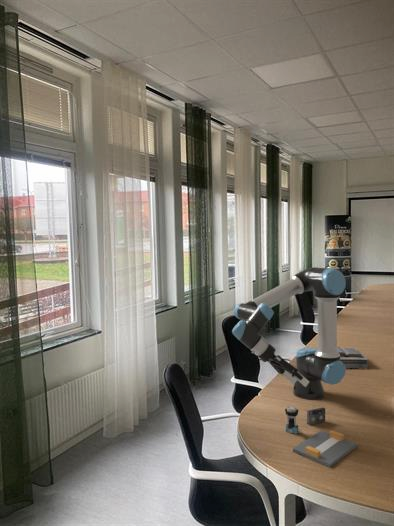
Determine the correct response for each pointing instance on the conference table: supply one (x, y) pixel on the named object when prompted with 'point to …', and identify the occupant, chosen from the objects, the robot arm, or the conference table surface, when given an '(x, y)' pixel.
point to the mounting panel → (325, 447)
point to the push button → (292, 420)
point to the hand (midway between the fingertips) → (301, 383)
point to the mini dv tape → (316, 416)
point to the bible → (352, 358)
